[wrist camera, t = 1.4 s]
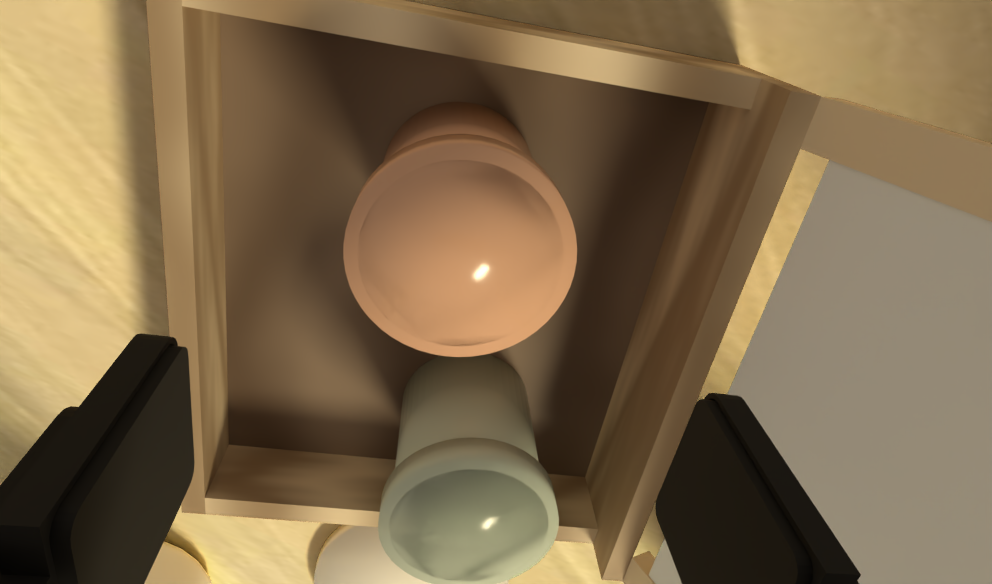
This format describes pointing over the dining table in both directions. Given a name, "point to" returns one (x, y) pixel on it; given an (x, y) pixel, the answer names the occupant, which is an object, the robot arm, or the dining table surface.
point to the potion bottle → (176, 568)
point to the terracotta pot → (459, 236)
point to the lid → (883, 351)
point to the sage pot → (467, 477)
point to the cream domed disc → (358, 559)
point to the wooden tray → (331, 197)
